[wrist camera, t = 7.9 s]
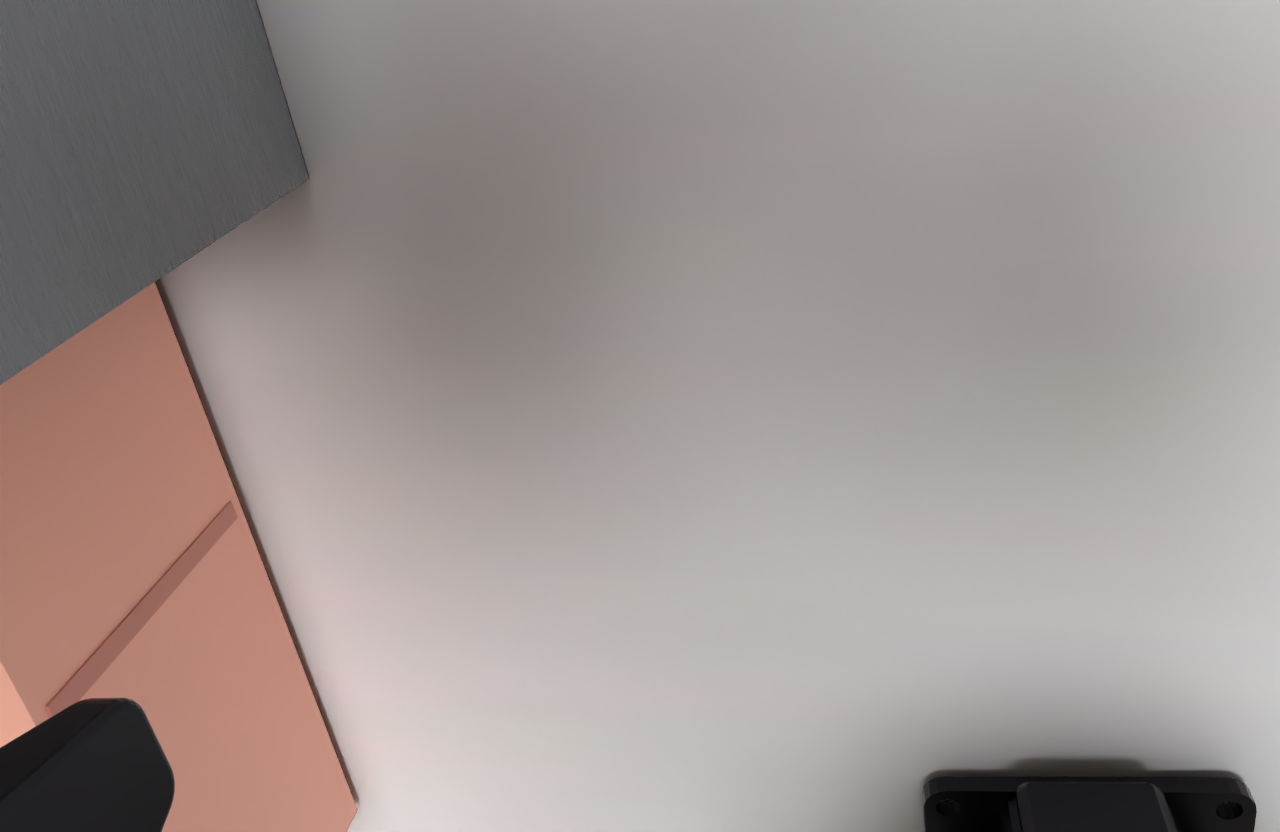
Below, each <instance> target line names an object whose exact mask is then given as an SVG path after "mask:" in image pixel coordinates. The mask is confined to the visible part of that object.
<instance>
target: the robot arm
mask: <svg viewBox="0 0 1280 832" xmlns="http://www.w3.org/2000/svg"><path fill="white" fill-rule="evenodd" d="M174 793H175V779H174V773H173V770H172V767H171V765H170V763H169V761H168V759H167V757H166V755H165V753H164V751H163V749H162V747H161V744H160V742H159V740H158V738H157V736H156V734H155V732H154V730H153V728H152V726H151V724H150V722H149V720H148V718H147V715H146V713H145V712H144V710H143V708H142V707H141V706H140V705H139V704H138V703H136V702H135V701H134V700H132V699H128V698H90V699H84V700H81V701H78V702H76V703H74V704H72V705H70V706H69V707H67V708H65V709H64V710H62V711H60V712H59V713H57V714H55V715H54V716H52V717H50V718H49V719H47V720H45V721H44V722H42V723H40V724H39V725H37V726H35V727H34V728H32V729H30V730H29V731H27V732H25V733H24V734H22V735H21V736H19V737H17V738H16V739H14V740H12V741H11V742H9V743H7V744H6V745H4V746H2V747H1V748H0V832H162V830H163V827H164V824H165V822H166V819H167V817H168V814H169V811H170V809H171V806H172V803H173V799H174ZM946 799H949V800H954V801H950V802H944V801H941V800H946ZM1230 801H1231V802H1230ZM1224 802H1230V803H1228V804H1222V803H1224ZM923 810H924V828H925V832H1254V826H1255V819H1256V805H1255V802H1254V800H1253V797H1252V795H1251V793H1250V790H1249V788H1248V787H1247V786H1246V785H1245V784H1244V783H1243V782H1241V781H1239V780H1237V779H1232V778H1209V777H939V778H935V779H933V780H931V781H929V782H928V783H927V784H926V785H925V786H924V789H923Z"/></svg>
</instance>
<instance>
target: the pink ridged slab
mask: <svg viewBox="0 0 1280 832" xmlns="http://www.w3.org/2000/svg"><path fill="white" fill-rule="evenodd" d="M90 698H128V699H132V700H134V701H135V702H136V703H138V704H139V705H140V706H141V707H142V708H143V710H144V712H145V713H146V715H147V718H148V720H149V722H150V724H151V726H152V728H153V730H154V732H155V734H156V736H157V738H158V740H159V742H160V744H161V747H162V749H163V751H164V753H165V755H166V757H167V759H168V761H169V763H170V765H171V767H172V770H173V773H174V779H175V793H174V799H173V803H172V806H171V809H170V811H169V814H168V817H167V819H166V822H165V824H164V827H163V830H162V832H347V830H348V828H349V826H350V824H351V822H352V820H353V818H354V816H355V814H356V812H357V807H356V804H355V802H354V799H353V797H352V794H351V791H350V789H349V786H348V784H347V781H346V778H345V776H344V773H343V771H342V768H341V765H340V763H339V760H338V758H337V755H336V752H335V750H334V747H333V745H332V742H331V739H330V737H329V734H328V732H327V729H326V726H325V724H324V721H323V719H322V716H321V713H320V711H319V708H318V706H317V703H316V700H315V698H314V695H313V693H312V690H311V687H310V685H309V682H308V680H307V677H306V674H305V672H304V669H303V666H302V664H301V661H300V659H299V656H298V653H297V651H296V648H295V646H294V643H293V640H292V638H291V635H290V633H289V630H288V627H287V625H286V622H285V620H284V617H283V614H282V612H281V609H280V607H279V604H278V601H277V599H276V596H275V594H274V591H273V588H272V586H271V583H270V581H269V578H268V575H267V573H266V570H265V568H264V565H263V562H262V560H261V557H260V555H259V552H258V549H257V547H256V544H255V541H254V539H253V536H252V534H251V531H250V528H249V526H248V523H247V521H246V518H245V515H244V513H243V510H242V508H241V505H240V502H239V500H238V497H237V495H236V492H235V489H234V487H233V484H232V482H231V479H230V476H229V474H228V471H227V469H226V466H225V463H224V461H223V458H222V456H221V453H220V450H219V448H218V445H217V443H216V440H215V437H214V435H213V432H212V430H211V427H210V424H209V422H208V419H207V416H206V414H205V411H204V409H203V406H202V403H201V401H200V398H199V396H198V393H197V390H196V388H195V385H194V383H193V380H192V377H191V375H190V372H189V370H188V367H187V364H186V362H185V359H184V357H183V354H182V351H181V349H180V346H179V344H178V341H177V338H176V336H175V333H174V331H173V328H172V325H171V323H170V320H169V318H168V315H167V312H166V310H165V307H164V305H163V302H162V299H161V297H160V294H159V292H158V289H157V286H156V284H155V282H154V283H152V284H151V285H149V286H148V287H146V288H145V289H143V290H142V291H140V292H139V293H137V294H136V295H134V296H133V297H131V298H130V299H128V300H127V301H125V302H124V303H122V304H121V305H119V306H118V307H116V308H115V309H113V310H112V311H110V312H109V313H107V314H106V315H104V316H103V317H101V318H100V319H98V320H97V321H95V322H94V323H92V324H91V325H89V326H88V327H86V328H85V329H83V330H82V331H80V332H79V333H77V334H76V335H74V336H73V337H71V338H70V339H68V340H67V341H65V342H64V343H62V344H61V345H59V346H58V347H56V348H55V349H53V350H52V351H50V352H49V353H47V354H46V355H44V356H43V357H41V358H40V359H38V360H37V361H35V362H34V363H32V364H31V365H29V366H28V367H26V368H25V369H23V370H22V371H20V372H19V373H17V374H16V375H14V376H13V377H11V378H10V379H8V380H7V381H5V382H4V383H2V384H1V385H0V748H1V747H2V746H4V745H6V744H7V743H9V742H11V741H12V740H14V739H16V738H17V737H19V736H21V735H22V734H24V733H25V732H27V731H29V730H30V729H32V728H34V727H35V726H37V725H39V724H40V723H42V722H44V721H45V720H47V719H49V718H50V717H52V716H54V715H55V714H57V713H59V712H60V711H62V710H64V709H65V708H67V707H69V706H70V705H72V704H74V703H76V702H78V701H81V700H84V699H90Z"/></svg>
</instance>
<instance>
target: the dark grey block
mask: <svg viewBox="0 0 1280 832" xmlns="http://www.w3.org/2000/svg"><path fill="white" fill-rule="evenodd" d="M308 179H309V177H308V173H307V170H306V167H305V164H304V160H303V157H302V154H301V150H300V147H299V144H298V140H297V137H296V134H295V130H294V127H293V124H292V120H291V117H290V114H289V111H288V107H287V104H286V101H285V97H284V94H283V91H282V87H281V84H280V81H279V77H278V74H277V71H276V67H275V64H274V61H273V57H272V54H271V51H270V48H269V44H268V41H267V38H266V34H265V31H264V28H263V24H262V21H261V18H260V14H259V11H258V8H257V4H256V1H255V0H0V385H1V384H2V383H4V382H5V381H7V380H8V379H10V378H11V377H13V376H14V375H16V374H17V373H19V372H20V371H22V370H23V369H25V368H26V367H28V366H29V365H31V364H32V363H34V362H35V361H37V360H38V359H40V358H41V357H43V356H44V355H46V354H47V353H49V352H50V351H52V350H53V349H55V348H56V347H58V346H59V345H61V344H62V343H64V342H65V341H67V340H68V339H70V338H71V337H73V336H74V335H76V334H77V333H79V332H80V331H82V330H83V329H85V328H86V327H88V326H89V325H91V324H92V323H94V322H95V321H97V320H98V319H100V318H101V317H103V316H104V315H106V314H107V313H109V312H110V311H112V310H113V309H115V308H116V307H118V306H119V305H121V304H122V303H124V302H125V301H127V300H128V299H130V298H131V297H133V296H134V295H136V294H137V293H139V292H140V291H142V290H143V289H145V288H146V287H148V286H149V285H151V284H152V283H154V282H155V281H157V280H158V279H160V278H161V277H163V276H164V275H166V274H167V273H169V272H170V271H172V270H173V269H175V268H176V267H178V266H179V265H181V264H182V263H184V262H185V261H187V260H188V259H190V258H191V257H193V256H194V255H196V254H197V253H199V252H200V251H202V250H203V249H205V248H206V247H208V246H209V245H211V244H212V243H214V242H215V241H217V240H218V239H220V238H221V237H223V236H224V235H226V234H227V233H229V232H230V231H232V230H233V229H235V228H236V227H238V226H239V225H241V224H242V223H244V222H245V221H246V220H248V219H249V218H251V217H252V216H254V215H255V214H257V213H258V212H260V211H261V210H263V209H264V208H266V207H267V206H269V205H270V204H272V203H273V202H275V201H276V200H278V199H279V198H281V197H282V196H284V195H285V194H287V193H288V192H290V191H291V190H293V189H294V188H296V187H297V186H299V185H300V184H302V183H303V182H305V181H306V180H308Z"/></svg>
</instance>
